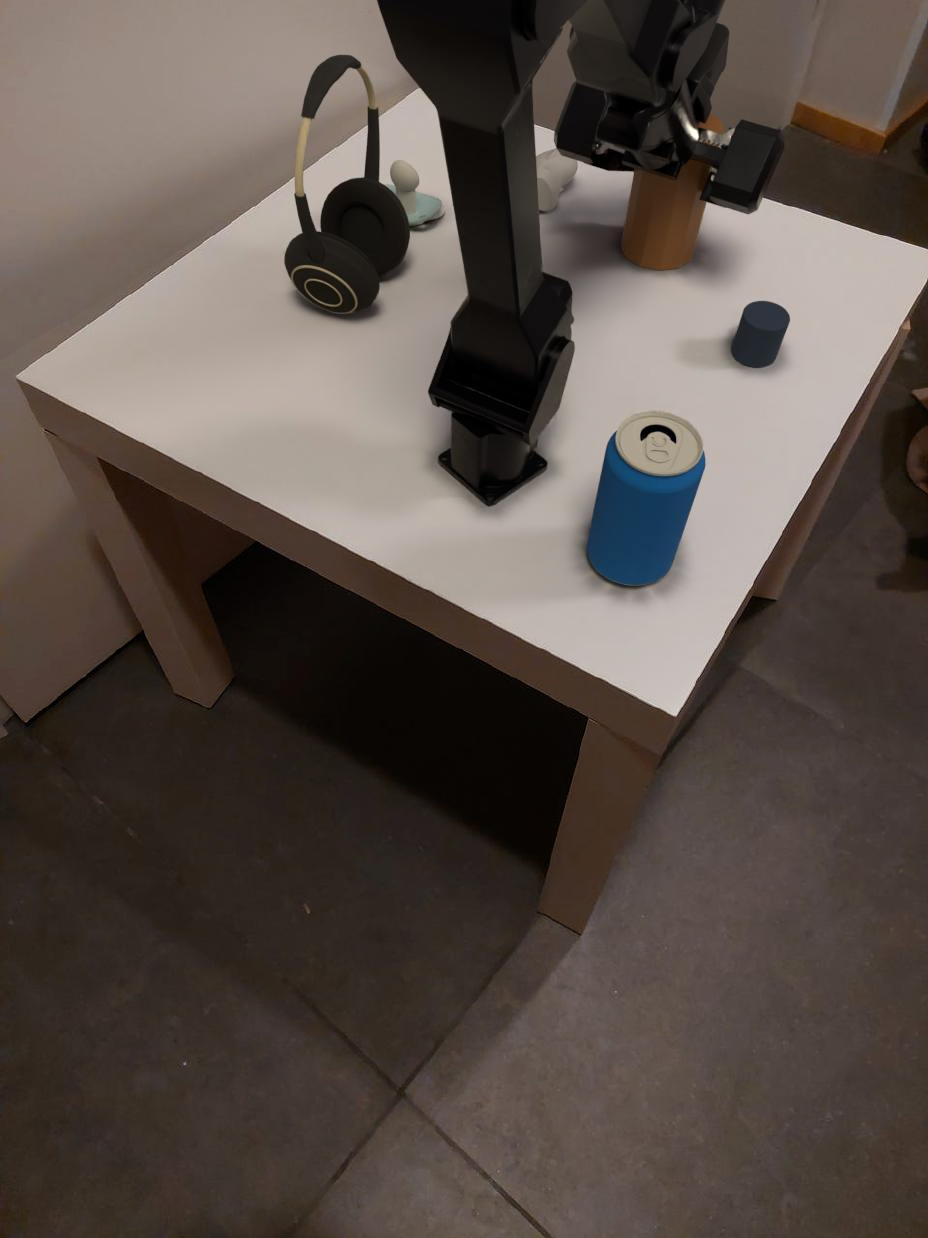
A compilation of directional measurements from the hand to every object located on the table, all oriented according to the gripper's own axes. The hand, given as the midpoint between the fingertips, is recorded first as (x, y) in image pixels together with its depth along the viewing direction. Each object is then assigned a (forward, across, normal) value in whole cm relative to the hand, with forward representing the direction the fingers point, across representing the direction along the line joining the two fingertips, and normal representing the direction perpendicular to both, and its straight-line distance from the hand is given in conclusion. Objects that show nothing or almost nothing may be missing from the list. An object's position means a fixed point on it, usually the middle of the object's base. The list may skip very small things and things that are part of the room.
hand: (677, 176), depth 84 cm
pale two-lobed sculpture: (+6, +14, +4) cm, 16 cm away
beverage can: (-22, -13, +32) cm, 41 cm away
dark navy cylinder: (-3, -14, +13) cm, 19 cm away
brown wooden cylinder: (+4, 0, +6) cm, 7 cm away
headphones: (-11, +22, +21) cm, 32 cm away
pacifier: (-2, +24, +11) cm, 26 cm away
